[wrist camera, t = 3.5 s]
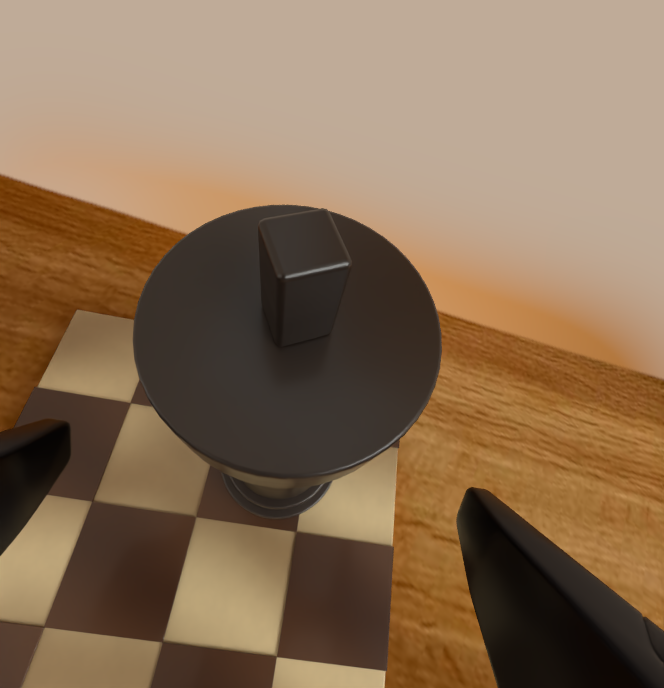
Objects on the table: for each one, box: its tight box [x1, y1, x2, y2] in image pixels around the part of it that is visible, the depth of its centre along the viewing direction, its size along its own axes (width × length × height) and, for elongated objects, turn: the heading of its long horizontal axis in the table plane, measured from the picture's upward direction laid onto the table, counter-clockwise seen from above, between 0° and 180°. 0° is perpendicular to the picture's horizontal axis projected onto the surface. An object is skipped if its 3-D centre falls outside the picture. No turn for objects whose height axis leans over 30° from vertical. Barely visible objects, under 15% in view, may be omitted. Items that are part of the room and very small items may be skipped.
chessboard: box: [0, 310, 400, 688], centre depth 15 cm, size 16×16×1 cm
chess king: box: [133, 205, 442, 520], centre depth 10 cm, size 5×5×14 cm
